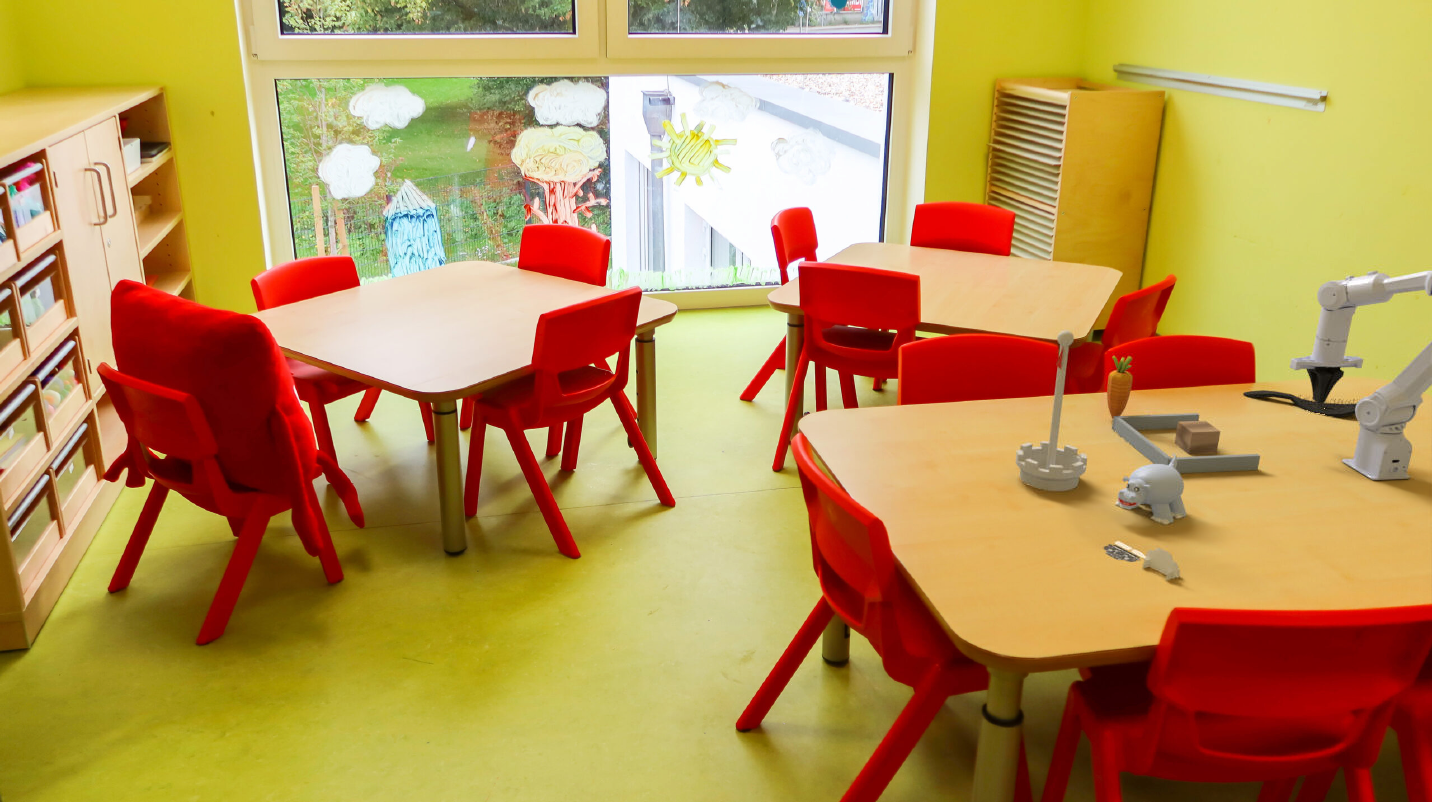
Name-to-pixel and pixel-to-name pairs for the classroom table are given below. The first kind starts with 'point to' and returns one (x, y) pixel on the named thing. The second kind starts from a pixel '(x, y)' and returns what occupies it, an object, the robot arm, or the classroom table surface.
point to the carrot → (1119, 387)
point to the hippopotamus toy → (1155, 491)
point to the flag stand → (1053, 443)
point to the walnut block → (1197, 437)
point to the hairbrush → (1309, 403)
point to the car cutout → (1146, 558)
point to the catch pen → (1127, 430)
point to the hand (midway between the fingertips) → (1318, 401)
